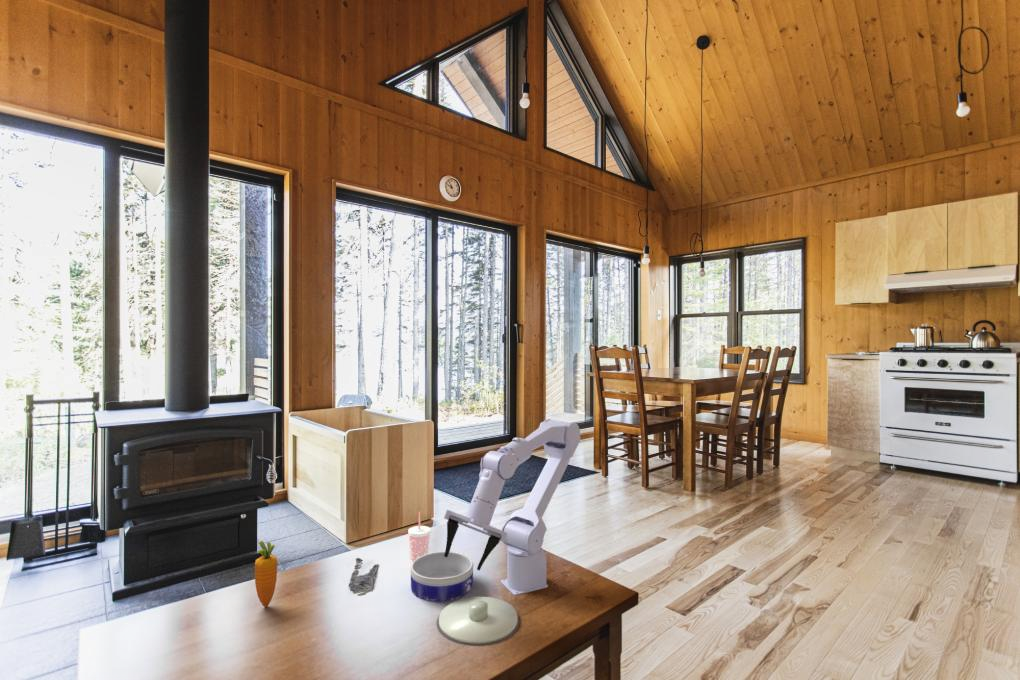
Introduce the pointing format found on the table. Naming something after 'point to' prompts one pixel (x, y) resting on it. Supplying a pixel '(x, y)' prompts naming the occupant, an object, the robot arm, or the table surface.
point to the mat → (477, 644)
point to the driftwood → (362, 579)
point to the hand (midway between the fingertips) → (461, 563)
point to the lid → (478, 620)
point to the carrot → (265, 574)
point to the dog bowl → (441, 576)
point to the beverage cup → (418, 541)
